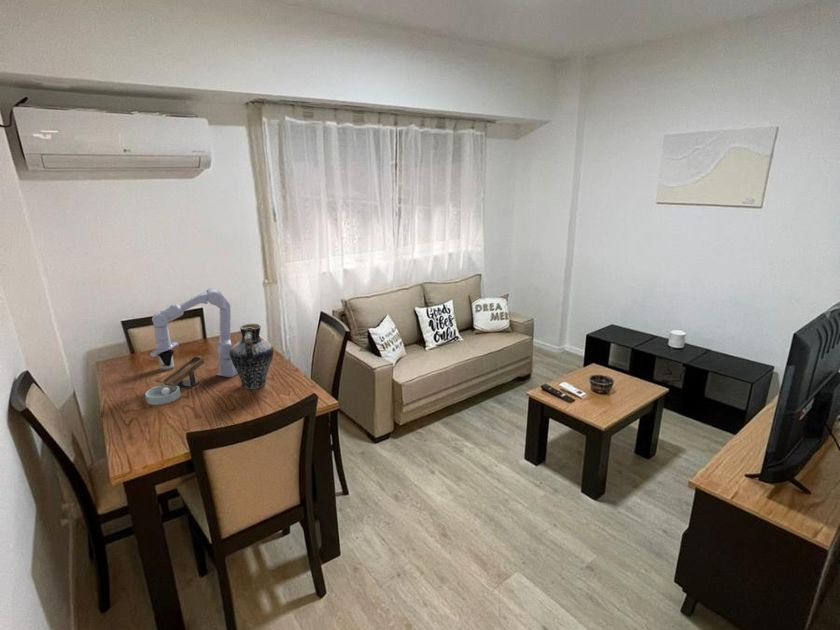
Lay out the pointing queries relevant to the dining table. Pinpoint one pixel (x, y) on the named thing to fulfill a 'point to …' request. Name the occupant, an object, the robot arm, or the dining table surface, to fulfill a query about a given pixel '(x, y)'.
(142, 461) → the dining table surface
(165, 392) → the ball
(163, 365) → the travel mug
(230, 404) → the dining table surface
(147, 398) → the bowl
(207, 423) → the dining table surface
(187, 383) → the stand
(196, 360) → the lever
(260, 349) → the jug
